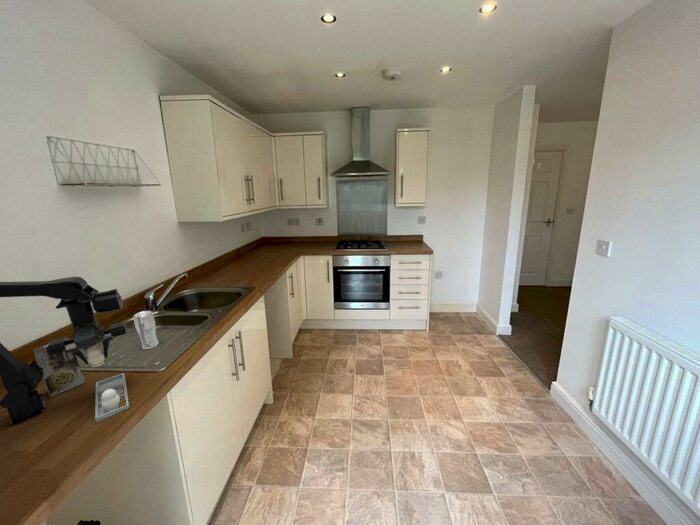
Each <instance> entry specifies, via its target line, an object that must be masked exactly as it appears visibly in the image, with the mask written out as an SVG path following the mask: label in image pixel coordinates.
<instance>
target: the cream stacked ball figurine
mask: <svg viewBox="0 0 700 525" xmlns="http://www.w3.org/2000/svg"><path fill="white" fill-rule="evenodd" d="M86 356H87V362H88V365H89V364H90V365H91V368H97V367H100V366H103V364H104V363H105V359H106V358H105V356H104V351H102V348H101V347H100V346H97V345H93V346H92V345H91V346H89V347H88V348H87V351H86Z"/></svg>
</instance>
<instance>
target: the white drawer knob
mask: <svg viewBox="0 0 700 525" xmlns="http://www.w3.org/2000/svg"><path fill="white" fill-rule="evenodd" d="M101 399H102V402H101V405H102V407H103V408H105V409H106V411H107V412H110V411H112V410H115V409H117V408H118V407H119V402H120V396H119V395H118V394H117V392H116V390H114V389H107V390H105V391H104V392H103V393H102V395H101Z"/></svg>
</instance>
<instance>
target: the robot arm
mask: <svg viewBox="0 0 700 525" xmlns="http://www.w3.org/2000/svg"><path fill="white" fill-rule="evenodd" d="M15 297H16V298H20V297H22V298H23V297H47V298H51V299H56V300H60V301H59V302H58V304H57V305H56V306H55V309H57V310H58V309H62V308H66V311H67V314H68V317H69V321H70V324H71V327H72V329H73V330H72V331H73V333H72V336H73V338H69V340H67V338H68V337H67V336H63V337H59V338H56V339H52V340H50V341H49V342H48V343H47V344H48V346H47V348H46V349H47V353H48V355H54V354H58V353H61V352H63V351H64V350H65V349H66V351H65V352H66V353H70V352H71V353H74V354H75V355H76V357H79V359H80V360H81V361H83V363H85V365H89V363H88V362H87V353H85V351H84V348H87V347H88V348H89V347H92V346H97V344H99V340H101V339H102V341H101V343H102V346H103V347H102V349H103V353H104V356H105V358H104V359H108V354H109V353H108V352H109V345H110V342H111V341H113V340H115V338H117V337H119V336H124V335H126V334H127V333H128V331H127V326H126V323H125V322H124V321H120V322H115V323H112V324H110V325H109V327H108V328H106V329H104V327H103V326H102V325H100V326H99V324H98V320H97V317H96V314H95V312H96V313H99V314H104V313H109V312H114V311H119V310H122V309H124V302H123V298H122V295H120V292H119V291H118V289H117V288H113V289H110V290H105V291H99V290H97V289H95V287H92V286H91V285H89V284H88V282H87V281H86V280H85V279H84V278H82V277H80V276H69V277H62V278H56V279H52V280H46V281H43V280H42V281H41V280H40V281H38V280H37V281H36V280H35V281H33V280H32V281H0V298H15ZM42 370H43V368H41V367H39V366H38V363H37V361H35V360H32V361H29V362H25V361H22V360H19V359H18V357H16V356H15V354H14V353H12V351H9V349H8V348H7V347H6V346H5V345H3V344H2V342H0V382H1V385H2V387H3V388H4V390H5V391H6V392H7V393H6V394H5V395H4V396H3V397H2V398H1V400H0V407H1V408H3V409H6V410H7V413H8V415H9V418H10V420H11V421H10V424H9V425H10V426H14V425H15V424H18V423H21V422H24V421H27V420H28V419H31V418H34V417H37V416H40V415H41V414H43V412H44V409H45V407H46V401H45V398H44V397H43V393H39V391H38V389H37V388H38V387H39V384H40V382H42V380H44V379H43V375H44V373H43V372H42Z"/></svg>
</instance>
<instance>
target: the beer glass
mask: <svg viewBox="0 0 700 525" xmlns="http://www.w3.org/2000/svg"><path fill="white" fill-rule="evenodd" d="M133 322H134V327H135V330H136V331H137V335H138V336H139V338H140V340H141V348H142V349H143V350H149V349H150V350H151V349H153V348H155V347H157V346H158V345H159V344H160V343H159V342H160V341H159V340H158V338H157V334H156V329H157V328H156V321H155V316H154V314H153V310H142V311H139V312H137V313H135V314H133Z"/></svg>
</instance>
